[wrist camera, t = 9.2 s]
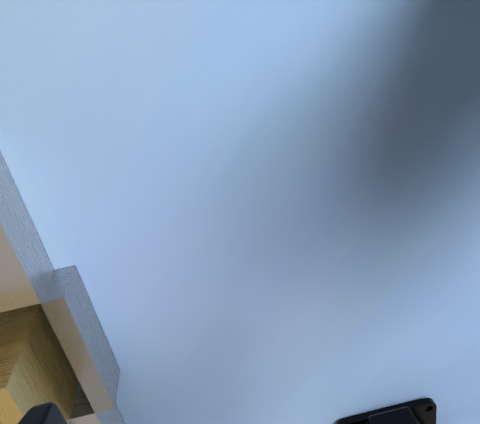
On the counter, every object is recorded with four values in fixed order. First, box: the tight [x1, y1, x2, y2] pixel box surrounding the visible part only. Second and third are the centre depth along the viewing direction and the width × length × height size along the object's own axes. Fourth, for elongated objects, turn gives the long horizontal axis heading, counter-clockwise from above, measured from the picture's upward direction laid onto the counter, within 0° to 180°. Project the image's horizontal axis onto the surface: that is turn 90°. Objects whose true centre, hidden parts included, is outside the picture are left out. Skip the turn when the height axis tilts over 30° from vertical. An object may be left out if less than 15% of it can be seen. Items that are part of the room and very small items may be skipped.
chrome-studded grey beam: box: [0, 153, 124, 424], centre depth 21 cm, size 22×8×3 cm, turn 10°
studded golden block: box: [0, 303, 79, 424], centre depth 19 cm, size 5×4×7 cm
